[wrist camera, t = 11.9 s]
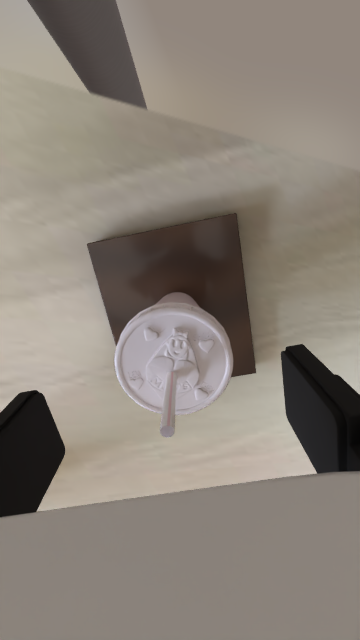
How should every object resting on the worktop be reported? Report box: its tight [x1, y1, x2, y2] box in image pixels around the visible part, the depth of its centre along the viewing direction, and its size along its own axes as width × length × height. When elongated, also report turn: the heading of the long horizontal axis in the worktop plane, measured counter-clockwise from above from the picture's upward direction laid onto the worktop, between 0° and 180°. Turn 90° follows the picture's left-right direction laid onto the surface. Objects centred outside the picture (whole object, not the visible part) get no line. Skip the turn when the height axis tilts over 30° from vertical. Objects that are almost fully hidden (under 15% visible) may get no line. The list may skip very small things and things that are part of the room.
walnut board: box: [87, 213, 256, 377], centre depth 24 cm, size 14×12×2 cm
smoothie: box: [114, 292, 233, 437], centre depth 17 cm, size 6×6×14 cm
